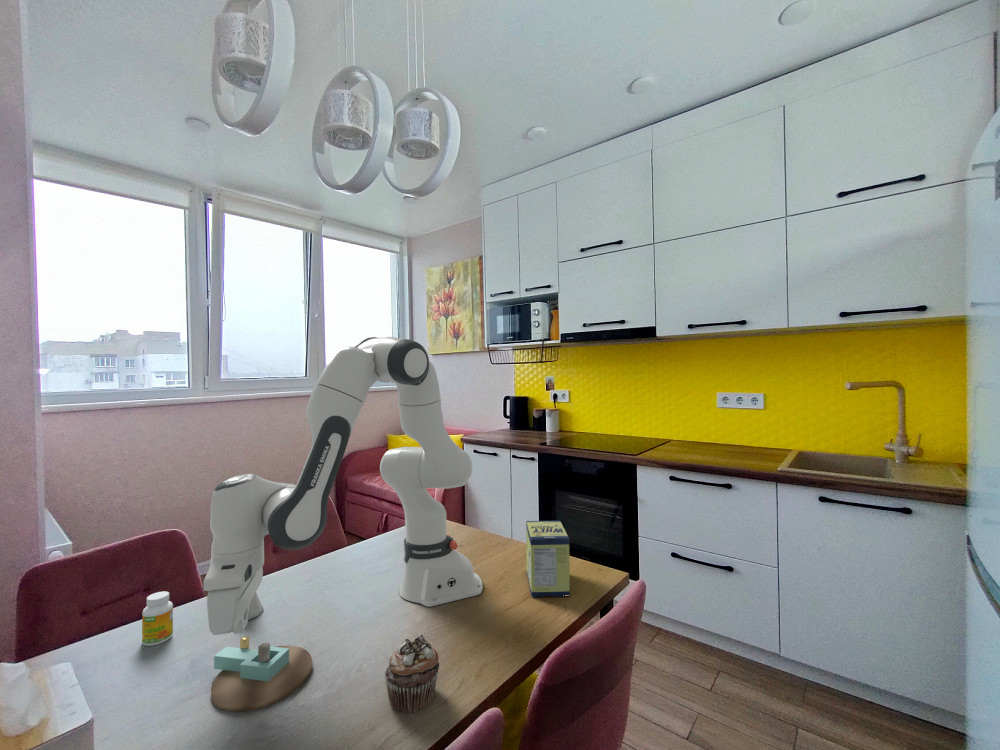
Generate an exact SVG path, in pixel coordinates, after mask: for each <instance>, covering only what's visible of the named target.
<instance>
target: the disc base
mask: <svg viewBox="0 0 1000 750" xmlns="http://www.w3.org/2000/svg"><path fill="white" fill-rule="evenodd" d="M270 646H271V644H270V642H264V643H261V644H259V645H258V646H257V648H258V649H257V650H258V662H262V663H268V662H269V661H270ZM273 647H280V648H289V662H288V663H287V664H286V665H285V666H284V667H283V668H282V669H281V670H280V671H279V672H278V673H277V674H276V675H275V676H273V677H272V678H271V679H270V680H269V681H261V680H253V679H245V678H240V672H236V671H228V670H220V672H219V673H218V674H217V675H216V676H215V678H214V680H213V681H212V683H211V687H210V697H211V703H212V704H213V705H214V706H215V707H216V708H218V709H220V710H223V711H225V712H232V713H234V712H235V713H238V712H239V713H240V712H242V713H244V712H250V711H254V710H255V711H256V710H259V709H263V708H265V707H269V706H272V705H274V704H277V703H278V702H280V701H282V700H284V699H286V698H288V697H289V696H291V695H292V694H294V693H295V692H297V691H298V690H299V689H300V688H301V687H302V686H303V685H304V684H305V683H306V682H307V681H308V679H309V677H310V675H311V673H312V670H313V657H312V655H311V654H310V652H309V651H308V650H306V649H305V648H304V647H303V648H302V647H300V646H295V645H285V644H284V645H275V646H273Z"/></svg>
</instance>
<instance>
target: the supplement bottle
mask: <svg viewBox="0 0 1000 750" xmlns="http://www.w3.org/2000/svg"><path fill="white" fill-rule="evenodd" d="M145 605H146V606H145V608H143V609H142V614H141V615H142V620H141V624H142V626H141V643H142V645H143V646H145V647H146V646H147V647H154V646H157V645H160V644H163V643H165V642H167V641H168V640H169V639H171V638H172V636H173V633H174V603H173V602H172V601H170V592H169V591H166V590H165V591H157V592H154V593H151V594H150V595H148V596H147V597H146V604H145Z"/></svg>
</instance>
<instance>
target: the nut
mask: <svg viewBox="0 0 1000 750" xmlns="http://www.w3.org/2000/svg"><path fill="white" fill-rule="evenodd" d="M288 662H289V648H280V647H274V646H272V645H270V661H269V662H268V663H262V662H258V649H250V648H249V649H243V648H240V647H233V646H225V647H224V648H223V649H221V650H220V651H219V652H217V653H216V654H215V655H214V656H213V669H214V670H220V671H222V670H228V671H236V672H240V678H245V679H253V680H261V681H269V680H270V679H271V678H272V677H273V676H275V675H276V674H277V673H278V672H279V671H280V670H281V669H282V668H283V667H284V666H285V665H286V664H287V663H288Z"/></svg>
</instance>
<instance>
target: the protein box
mask: <svg viewBox="0 0 1000 750" xmlns="http://www.w3.org/2000/svg"><path fill="white" fill-rule="evenodd" d="M525 525H526V527H525V529H526V531H525V532H526V535H525V536H526V537H525V538H526V540H525V541H526V543H525V544H526V547H525V548H526V558H525V559H526V576H528V577H527V582H528V581H529V582H528V585H529V593H530V592H531V593H530V597H531V596H533V597H532V598H541V597H540V596H563V595H564V596H565V595H570V590H571V587H570V586H571V585H570V584H571V583H570V580H571V579H570V575H571V573H570V570H571V569H570V537H569V536H568V534H567V531H566V529H565V528H564V526H563V524H562V522H561V520H526V523H525ZM537 596H539V597H537Z"/></svg>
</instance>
